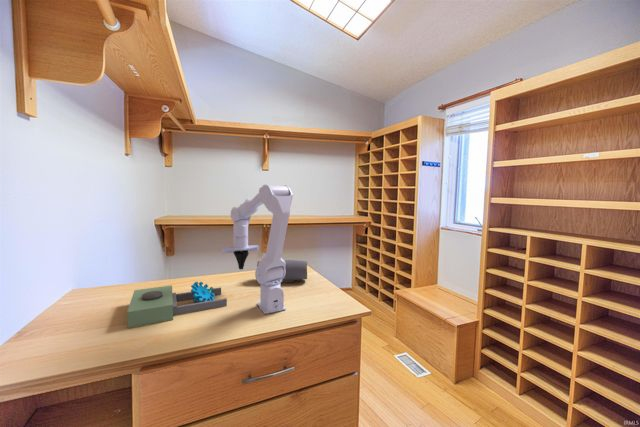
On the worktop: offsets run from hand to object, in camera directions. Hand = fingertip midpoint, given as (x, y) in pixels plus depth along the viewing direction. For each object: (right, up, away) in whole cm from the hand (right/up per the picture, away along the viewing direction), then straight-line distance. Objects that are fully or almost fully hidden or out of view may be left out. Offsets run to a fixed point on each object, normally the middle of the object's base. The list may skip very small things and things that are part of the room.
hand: (240, 268), depth 113 cm
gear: (-11, -11, -11) cm, 19 cm away
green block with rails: (-17, -10, -15) cm, 25 cm away
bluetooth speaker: (+15, -9, +14) cm, 23 cm away
